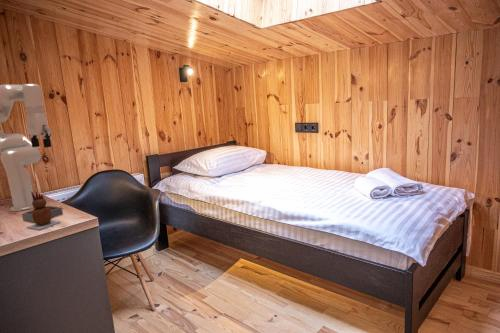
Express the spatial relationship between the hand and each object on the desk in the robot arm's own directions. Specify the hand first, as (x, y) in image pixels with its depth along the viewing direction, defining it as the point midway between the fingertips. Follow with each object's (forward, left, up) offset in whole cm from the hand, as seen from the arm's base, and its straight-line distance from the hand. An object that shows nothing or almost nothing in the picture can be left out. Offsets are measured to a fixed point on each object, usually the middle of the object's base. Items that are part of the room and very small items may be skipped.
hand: (41, 147), depth 155 cm
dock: (+6, -9, -32) cm, 34 cm away
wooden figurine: (+18, -16, -31) cm, 40 cm away
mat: (+18, -16, -32) cm, 40 cm away
